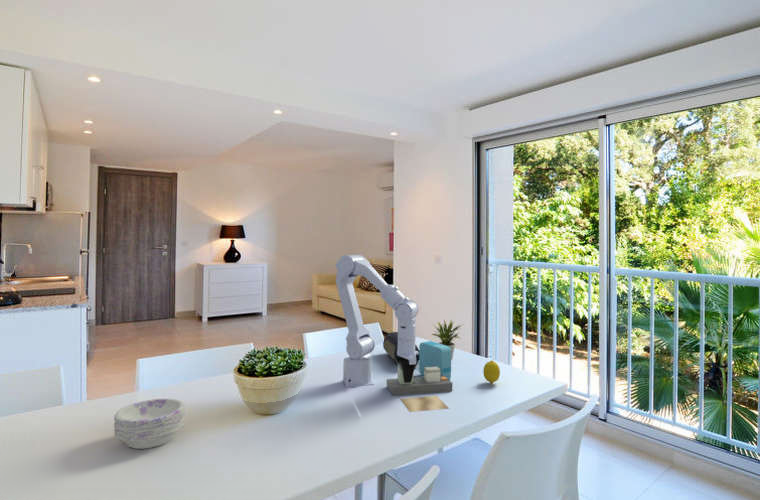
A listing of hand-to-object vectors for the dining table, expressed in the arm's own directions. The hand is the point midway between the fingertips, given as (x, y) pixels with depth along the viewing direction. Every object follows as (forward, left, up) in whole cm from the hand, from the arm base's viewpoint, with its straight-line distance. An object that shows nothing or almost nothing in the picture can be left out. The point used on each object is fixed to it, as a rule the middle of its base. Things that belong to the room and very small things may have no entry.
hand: (406, 380), depth 141 cm
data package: (+14, +11, -4) cm, 18 cm away
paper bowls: (-71, -19, -4) cm, 74 cm away
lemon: (+31, +1, -4) cm, 31 cm away
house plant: (+27, +31, -4) cm, 41 cm away
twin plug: (+9, 0, -4) cm, 10 cm away
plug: (0, 0, -2) cm, 2 cm away
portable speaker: (+8, +33, -4) cm, 35 cm away
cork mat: (+2, -12, -4) cm, 13 cm away
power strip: (+5, 0, -4) cm, 6 cm away
